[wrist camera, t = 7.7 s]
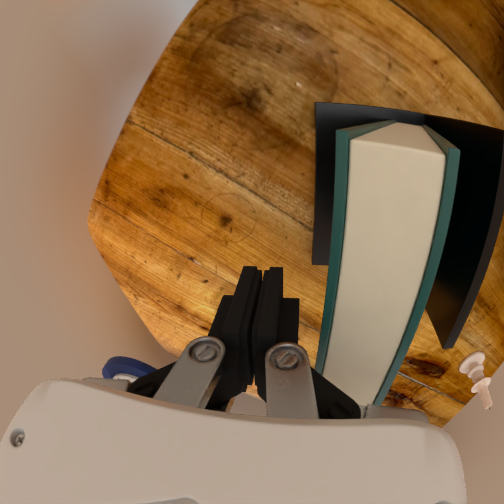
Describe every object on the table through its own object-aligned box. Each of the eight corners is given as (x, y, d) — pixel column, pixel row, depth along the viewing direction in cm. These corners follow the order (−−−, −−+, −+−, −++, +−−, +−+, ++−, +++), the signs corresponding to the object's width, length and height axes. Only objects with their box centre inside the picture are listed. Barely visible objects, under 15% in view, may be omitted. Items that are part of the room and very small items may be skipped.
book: (301, 432, 13) (353, 449, 11) (335, 129, 6) (460, 149, 5) (378, 260, 28) (405, 266, 26) (393, 119, 21) (425, 124, 19)
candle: (487, 356, 34) (507, 402, 25) (466, 374, 36) (482, 420, 27) (477, 347, 33) (498, 397, 24) (454, 367, 36) (470, 417, 27)
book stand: (311, 260, 30) (314, 354, 19) (314, 102, 22) (330, 98, 11) (409, 262, 28) (452, 348, 17) (429, 114, 21) (515, 134, 10)
